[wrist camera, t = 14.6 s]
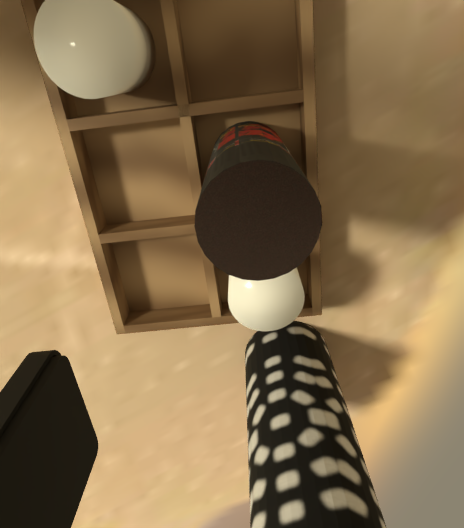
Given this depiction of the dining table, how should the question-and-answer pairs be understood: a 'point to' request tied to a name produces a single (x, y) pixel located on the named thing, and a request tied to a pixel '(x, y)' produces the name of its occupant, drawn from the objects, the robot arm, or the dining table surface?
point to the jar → (266, 301)
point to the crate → (185, 149)
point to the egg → (93, 47)
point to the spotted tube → (302, 437)
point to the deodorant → (256, 206)
